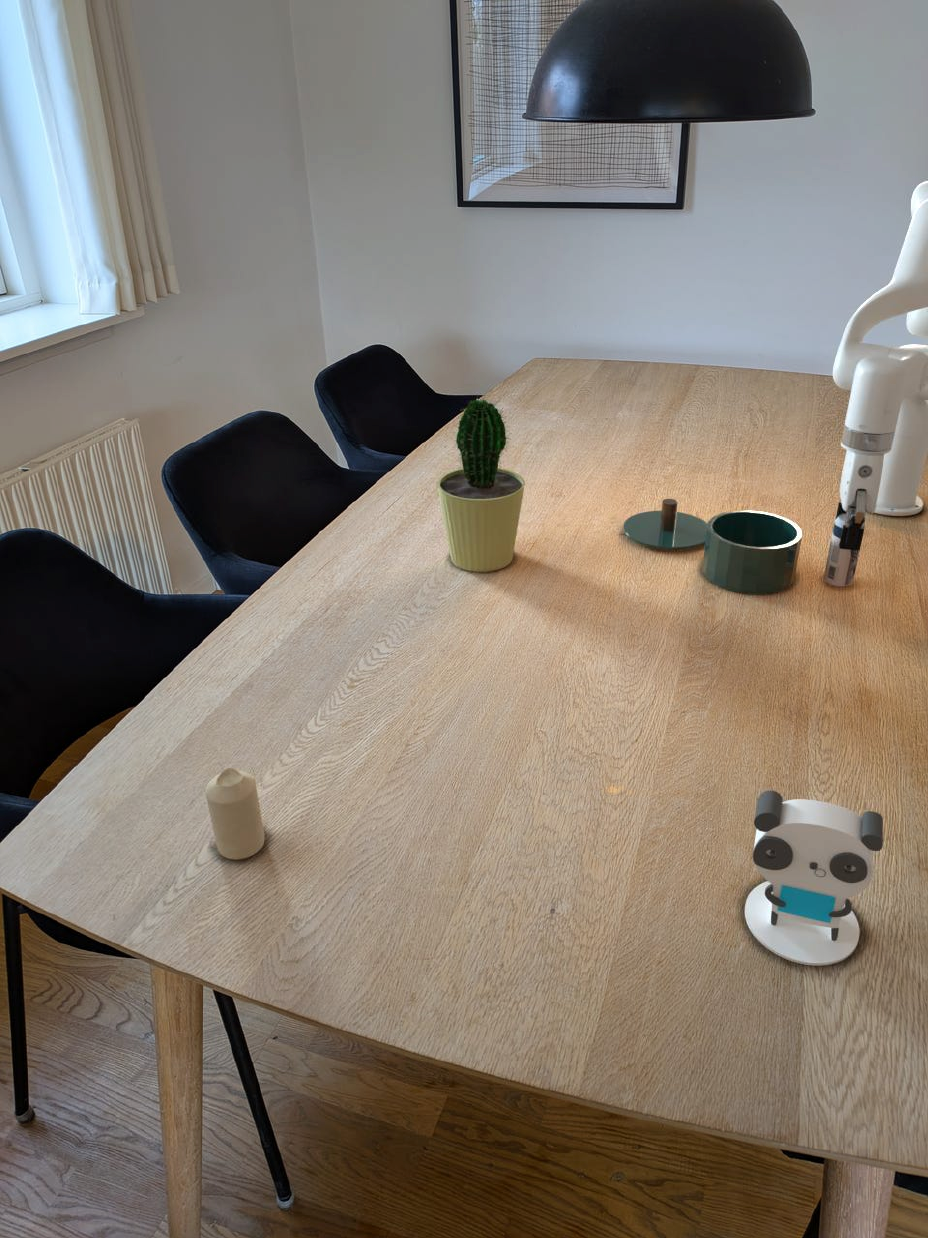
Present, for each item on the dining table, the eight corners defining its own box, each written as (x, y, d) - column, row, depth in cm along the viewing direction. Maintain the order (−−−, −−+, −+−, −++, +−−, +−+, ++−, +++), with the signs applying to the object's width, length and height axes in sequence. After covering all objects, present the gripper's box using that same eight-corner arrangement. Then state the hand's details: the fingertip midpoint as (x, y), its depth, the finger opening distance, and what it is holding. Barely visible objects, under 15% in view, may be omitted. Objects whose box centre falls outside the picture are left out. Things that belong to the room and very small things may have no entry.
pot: (704, 549, 173) (709, 506, 169) (792, 558, 170) (800, 514, 166) (699, 588, 161) (705, 543, 156) (795, 598, 157) (803, 553, 153)
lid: (628, 512, 188) (630, 481, 185) (713, 520, 184) (717, 488, 181) (617, 548, 175) (620, 515, 171) (709, 557, 171) (713, 523, 167)
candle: (220, 828, 112) (207, 762, 107) (267, 825, 112) (256, 759, 107) (213, 862, 107) (199, 794, 102) (262, 858, 107) (250, 791, 102)
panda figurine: (731, 945, 96) (751, 835, 88) (744, 868, 105) (764, 762, 97) (857, 979, 92) (889, 867, 84) (859, 896, 101) (889, 788, 93)
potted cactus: (422, 559, 172) (414, 398, 157) (478, 532, 181) (476, 378, 166) (484, 586, 163) (483, 418, 147) (540, 555, 172) (545, 395, 157)
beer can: (854, 589, 159) (868, 525, 153) (824, 587, 160) (837, 523, 154) (850, 576, 163) (863, 513, 157) (821, 574, 164) (833, 511, 158)
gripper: (899, 458, 140) (876, 561, 149) (886, 423, 155) (865, 518, 163) (846, 454, 142) (826, 556, 151) (838, 419, 157) (820, 514, 165)
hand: (846, 536), depth 157 cm, fingers open, 9 cm apart
